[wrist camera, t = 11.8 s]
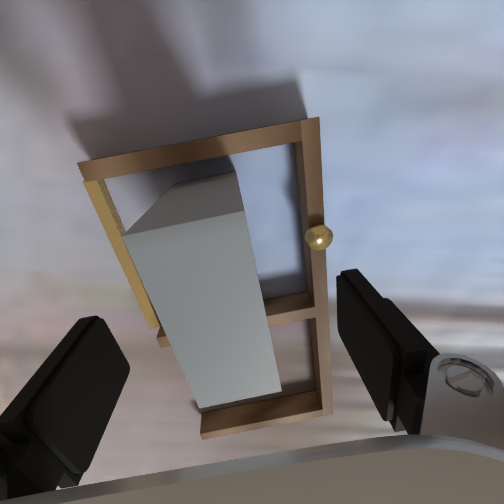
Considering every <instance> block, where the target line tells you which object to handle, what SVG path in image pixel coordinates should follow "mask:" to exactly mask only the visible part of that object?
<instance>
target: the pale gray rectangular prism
mask: <svg viewBox="0 0 504 504" xmlns="http://www.w3.org/2000/svg"><path fill="white" fill-rule="evenodd" d="M122 238H123V240H124V242H125V245H126V247H127V249H128V251H129V253H130V256H131V258H132V260H133V262H134V265H135V267H136V269H137V271H138V273H139V276H140V278H141V280H142V282H143V285H144V287H145V289H146V291H147V293H148V296H149V298H150V300H151V302H152V305H153V307H154V309H155V311H156V313H157V316H158V318H159V320H160V322H161V325H162V327H163V329H164V331H165V333H166V336H167V338H168V340H169V342H170V345H171V347H172V349H173V351H174V353H175V356H176V358H177V360H178V362H179V365H180V367H181V369H182V371H183V373H184V376H185V378H186V380H187V382H188V385H189V387H190V389H191V391H192V393H193V396H194V398H195V400H196V402H197V405H198V407H199V408H204V407H209V406H213V405H218V404H223V403H228V402H233V401H237V400H242V399H247V398H252V397H257V396H261V395H266V394H271V393H276V392H281V391H282V390H281V385H280V380H279V375H278V371H277V366H276V361H275V356H274V351H273V346H272V342H271V337H270V332H269V327H268V322H267V317H266V313H265V308H264V303H263V298H262V293H261V288H260V284H259V279H258V274H257V269H256V264H255V259H254V255H253V250H252V245H251V240H250V235H249V230H248V226H247V221H246V216H245V211H244V207H243V202H242V197H241V193H240V188H239V184H238V179H237V175H236V171H235V172H230V173H226V174H221V175H216V176H211V177H206V178H202V179H197V180H192V181H187V182H183V183H178V184H174V185H173V186H172V187H171V188H170V189H169V190H168V191H167V192H166V193H165V194H164V195H163V196H162V197H161V198H160V199H159V200H158V201H157V202H156V203H155V204H154V205H153V206H152V207H151V208H150V209H149V210H148V211H147V212H146V213H145V214H144V215H143V216H142V217H141V218H140V219H139V220H138V221H137V222H136V223H135V224H134V225H133V226H132V227H131V228H130V229H129V230H128V231H127V232H126V233H125V234H124V235H123V236H122Z"/></svg>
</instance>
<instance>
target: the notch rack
mask: <svg viewBox="0 0 504 504" xmlns="http://www.w3.org/2000/svg"><path fill="white" fill-rule="evenodd" d="M293 142H294V149H295V161H296V172H297V183H298V194H299V205H300V216H301V227H302V238H303V249H304V260H305V272H306V283H307V292H303V293H298V294H293V295H288V296H283V297H278V298H272V299H267V300H263V303H264V308H265V313H266V317H267V322H268V327H269V326H274V325H279V324H284V323H289V322H294V321H299V320H305V319H310V327H311V338H312V349H313V360H314V371H315V382H316V391H311V392H306V393H301V394H296V395H291V396H286V397H281V398H276V399H271V400H266V401H260V402H255V403H250V404H245V405H240V406H235V407H230V408H225V409H220V410H215V411H210V412H205V413H202V418H201V429H200V435H201V437H202V439H203V440H205V439H210V438H215V437H220V436H225V435H230V434H235V433H240V432H245V431H250V430H255V429H260V428H265V427H270V426H275V425H280V424H285V423H290V422H295V421H300V420H305V419H310V418H315V417H320V416H325V415H330V414H333V396H332V375H331V354H330V333H329V312H328V290H327V269H326V248H327V247H328V246H329V245H330V244H331V242H332V239H333V234H332V231H331V230H330V229H329V228H328V227H327V226H326V225H324V206H323V185H322V164H321V142H320V121H319V117H315V118H309V119H304V120H299V121H293V122H288V123H283V124H278V125H272V126H267V127H262V128H257V129H252V130H246V131H241V132H236V133H231V134H225V135H220V136H215V137H210V138H205V139H199V140H194V141H189V142H184V143H178V144H173V145H168V146H163V147H158V148H152V149H147V150H142V151H137V152H131V153H126V154H121V155H116V156H110V157H105V158H100V159H95V160H90V161H85V162H80V163H77V164H78V167H79V169H80V171H81V173H82V175H83V178H84V180H85V181H83V183H84V186H85V188H86V190H87V192H88V194H89V197H90V199H91V201H92V203H93V205H94V207H95V210H96V212H97V214H98V216H99V218H100V221H101V223H102V225H103V227H104V229H105V231H106V234H107V236H108V238H109V240H110V242H111V244H112V247H113V249H114V251H115V253H116V255H117V258H118V260H119V262H120V264H121V266H122V268H123V271H124V273H125V275H126V277H127V279H128V282H129V284H130V286H131V288H132V290H133V292H134V295H135V297H136V299H137V301H138V303H139V305H140V308H141V310H142V312H143V314H144V316H145V319H146V321H147V323H148V325H149V327H150V329H152V328H157V327H160V329H159V332H158V335H157V340H158V343H159V345H160V347H161V348H162V347H167V346H171V345H170V342H169V340H168V338H167V336H166V333H165V331H164V329H163V327H162V325H161V322H160V320H159V318H158V316H157V313H156V311H155V309H154V307H153V305H152V302H151V300H150V298H149V296H148V293H147V291H146V289H145V287H144V285H143V282H142V280H141V278H140V276H139V273H138V271H137V269H136V267H135V265H134V262H133V260H132V258H131V256H130V253H129V251H128V249H127V247H126V245H125V242H124V240H123V238H122V236H123V235H124V234H125V233H126V232H125V230H124V227H123V225H122V223H121V220H120V218H119V216H118V213H117V211H116V208H115V206H114V204H113V201H112V199H111V197H110V194H109V192H108V189H107V187H106V185H105V182H104V180H103V179H105V178H111V177H116V176H121V175H126V174H132V173H137V172H142V171H147V170H152V169H158V168H163V167H168V166H173V165H178V164H184V163H189V162H194V161H199V160H204V159H210V158H215V157H220V156H225V155H231V154H236V153H241V152H246V151H251V150H257V149H262V148H267V147H272V146H277V145H283V144H288V143H293Z"/></svg>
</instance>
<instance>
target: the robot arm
mask: <svg viewBox="0 0 504 504" xmlns="http://www.w3.org/2000/svg"><path fill="white" fill-rule="evenodd" d="M336 286H337V325H338V332H339V335H340V337H341V339H342V341H343V343H344V345H345V347H346V349H347V351H348V353H349V355H350V357H351V359H352V361H353V363H354V365H355V367H356V369H357V371H358V373H359V374H360V376H361V378H362V380H363V382H364V384H365V386H366V388H367V390H368V392H369V394H370V396H371V398H372V400H373V402H374V404H375V406H376V408H377V410H378V412H379V413H380V415H381V417H382V419H383V420H384V421H389V422H390V424H391V425H392V427H393V429H394V431H395V432H397V431H403V430H406V431H407V433H408V435H397V436H386V437H376V438H369V439H362V440H355V441H348V442H341V443H334V444H327V445H320V446H314V447H308V448H302V449H296V450H290V451H284V452H277V453H271V454H265V455H259V456H253V457H247V458H241V459H235V460H229V461H223V462H217V463H211V464H205V465H199V466H193V467H187V468H181V469H175V470H170V471H164V472H158V473H152V474H146V475H140V476H134V477H129V478H123V479H117V480H112V481H106V482H100V483H94V484H89V485H83V486H78V484H79V482H80V480H81V477H82V475H83V473H84V472H86V471H87V469H88V468H89V466H90V464H91V462H92V459H93V457H94V455H95V452H96V450H97V448H98V445H99V443H100V441H101V438H102V436H103V434H104V431H105V429H106V426H107V424H108V422H109V419H110V417H111V415H112V412H113V410H114V408H115V405H116V403H117V401H118V398H119V396H120V394H121V391H122V389H123V387H124V384H125V382H126V380H127V377H128V375H129V372H130V366H129V363H128V361H127V360H126V358H125V356H124V354H123V353H122V351H121V349H120V347H119V345H118V344H117V342H116V340H115V338H114V336H113V335H112V333H111V331H110V329H109V328H108V326H107V324H106V322H105V321H104V319H102V318H100V317H98V316H90V317H85V318H81V319H79V320H78V321H77V322H76V323H75V325H74V326H73V327H72V328H71V330H70V331H69V332H68V333H67V334H66V336H65V337H64V338H63V339H62V341H61V342H60V343H59V344H58V346H57V347H56V348H55V349H54V350H53V352H52V353H51V354H50V355H49V357H48V358H47V359H46V360H45V361H44V363H43V364H42V365H41V366H40V368H39V369H38V370H37V371H36V373H35V374H34V375H33V376H32V377H31V379H30V380H29V381H28V382H27V384H26V385H25V386H24V387H23V389H22V390H21V391H20V392H19V393H18V395H17V396H16V397H15V398H14V400H13V401H12V402H11V403H10V404H9V406H8V407H7V408H6V409H5V411H4V412H3V413H2V414H1V416H0V504H504V388H503V385H502V382H501V380H500V379H499V378H498V376H497V375H496V374H495V373H494V372H493V371H492V370H491V369H490V368H488V367H487V366H486V365H484V364H482V363H481V362H479V361H477V360H475V359H473V358H470V357H468V356H465V355H460V354H455V353H445V354H441V355H440V354H439V352H438V351H437V350H436V349H435V348H434V347H433V346H432V345H431V344H430V343H429V342H428V340H427V339H426V338H425V337H424V336H423V335H422V334H421V333H420V332H419V331H418V330H417V328H416V327H415V326H414V325H413V324H412V323H411V322H410V321H409V320H408V319H407V318H406V316H405V315H404V314H403V313H402V312H401V311H400V310H399V309H398V308H397V307H396V306H395V304H394V303H393V302H392V301H391V300H389V299H387V298H383V297H382V296H381V295H380V294H379V293H378V292H377V291H376V289H375V288H374V287H373V286H372V285H371V284H370V283H369V282H368V280H367V279H366V278H365V277H364V276H363V275H362V274H361V273H360V271H359V270H358V269H350V270H345V271H341V274H340V275H338V276H337V277H336ZM57 486H59V487H60V488H66V489H60V490H56V488H57ZM73 486H77V487H73ZM67 487H72V488H67Z"/></svg>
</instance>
